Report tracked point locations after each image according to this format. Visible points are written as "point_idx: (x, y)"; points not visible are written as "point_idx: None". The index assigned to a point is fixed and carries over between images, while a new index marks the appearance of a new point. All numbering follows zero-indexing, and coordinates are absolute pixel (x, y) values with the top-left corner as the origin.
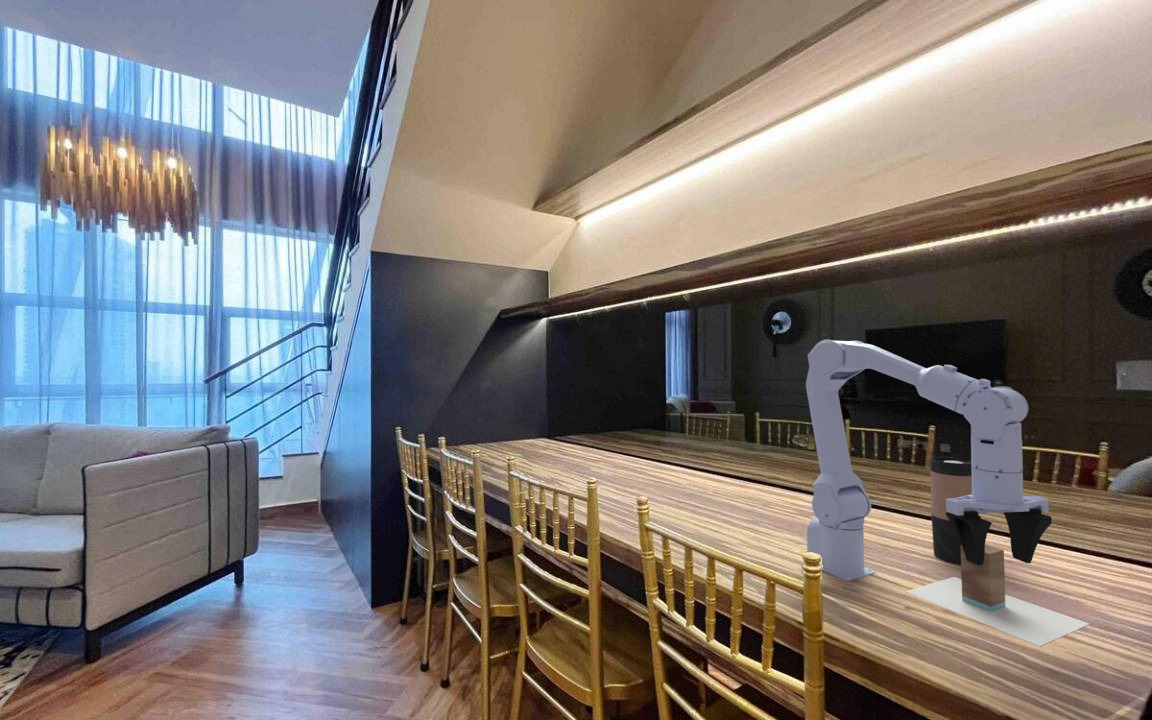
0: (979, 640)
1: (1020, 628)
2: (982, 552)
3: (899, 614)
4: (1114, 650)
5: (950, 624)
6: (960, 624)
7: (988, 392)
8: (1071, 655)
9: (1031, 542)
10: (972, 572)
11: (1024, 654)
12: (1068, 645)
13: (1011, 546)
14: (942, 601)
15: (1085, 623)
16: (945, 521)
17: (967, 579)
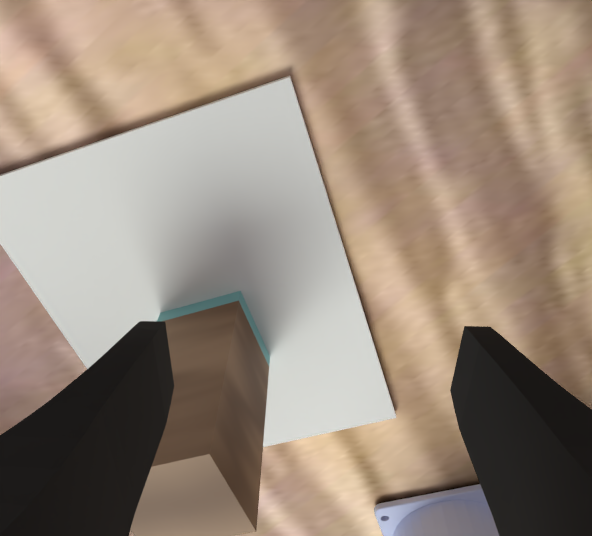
0: (443, 153)
1: (241, 190)
2: (523, 369)
3: (537, 318)
4: (18, 34)
5: (436, 250)
6: (403, 247)
7: None
8: (213, 24)
9: (107, 404)
10: (249, 413)
11: (380, 52)
12: (159, 86)
13: (158, 444)
14: (337, 359)
15: None
16: None
17: (259, 400)
